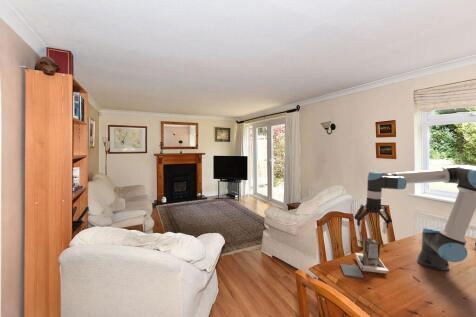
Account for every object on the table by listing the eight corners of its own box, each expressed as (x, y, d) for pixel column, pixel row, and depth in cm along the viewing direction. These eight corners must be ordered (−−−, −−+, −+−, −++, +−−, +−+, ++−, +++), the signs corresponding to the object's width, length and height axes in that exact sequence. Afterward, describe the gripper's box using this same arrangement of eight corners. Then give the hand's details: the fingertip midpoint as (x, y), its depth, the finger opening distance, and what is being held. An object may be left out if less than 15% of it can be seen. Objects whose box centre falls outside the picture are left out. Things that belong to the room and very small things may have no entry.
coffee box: (379, 270, 138) (380, 244, 137) (367, 269, 140) (368, 243, 138) (373, 263, 147) (374, 238, 146) (362, 262, 148) (363, 237, 147)
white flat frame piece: (376, 259, 151) (376, 255, 151) (388, 276, 133) (388, 270, 132) (354, 257, 154) (355, 252, 154) (363, 273, 136) (363, 267, 135)
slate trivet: (357, 267, 142) (357, 265, 142) (363, 278, 131) (363, 276, 130) (340, 265, 144) (340, 263, 144) (344, 275, 133) (344, 274, 133)
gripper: (394, 197, 141) (392, 231, 143) (349, 194, 147) (348, 227, 148) (400, 200, 134) (397, 236, 135) (353, 197, 139) (351, 232, 141)
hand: (371, 232), depth 142 cm, fingers open, 13 cm apart
